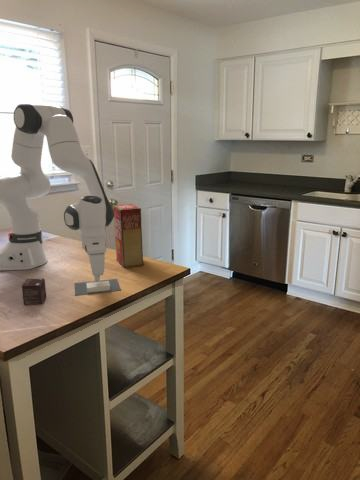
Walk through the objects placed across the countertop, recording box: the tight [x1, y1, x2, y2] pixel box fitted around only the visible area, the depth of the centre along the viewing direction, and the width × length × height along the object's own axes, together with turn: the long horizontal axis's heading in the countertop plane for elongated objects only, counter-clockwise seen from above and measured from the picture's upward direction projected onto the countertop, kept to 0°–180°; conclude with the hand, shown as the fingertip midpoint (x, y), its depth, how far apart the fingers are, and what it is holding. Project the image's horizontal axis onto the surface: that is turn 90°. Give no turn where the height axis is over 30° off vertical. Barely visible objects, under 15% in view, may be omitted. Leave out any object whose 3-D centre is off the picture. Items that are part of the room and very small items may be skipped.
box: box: [21, 278, 47, 306], centre depth 129 cm, size 6×6×7 cm
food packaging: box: [112, 203, 144, 269], centre depth 168 cm, size 13×9×25 cm
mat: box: [74, 278, 122, 297], centre depth 142 cm, size 16×12×1 cm
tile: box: [86, 280, 110, 293], centre depth 140 cm, size 8×2×5 cm
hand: (97, 279), depth 140 cm, fingers closed
